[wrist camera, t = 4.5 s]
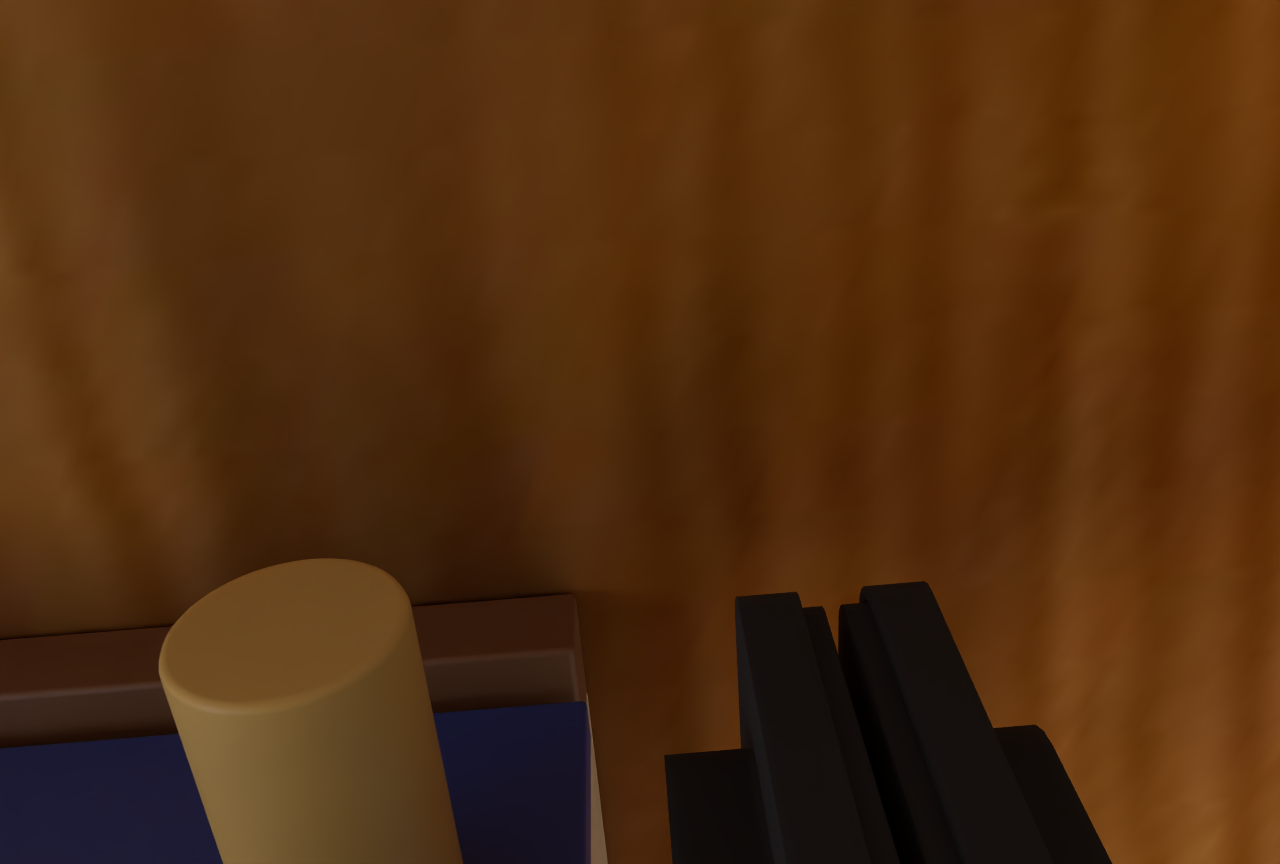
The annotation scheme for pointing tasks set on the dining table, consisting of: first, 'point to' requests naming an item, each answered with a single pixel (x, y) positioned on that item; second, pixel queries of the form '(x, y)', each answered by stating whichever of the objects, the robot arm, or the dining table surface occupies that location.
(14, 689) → the box with blue drawer
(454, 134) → the dining table surface
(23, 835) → the sliding door
